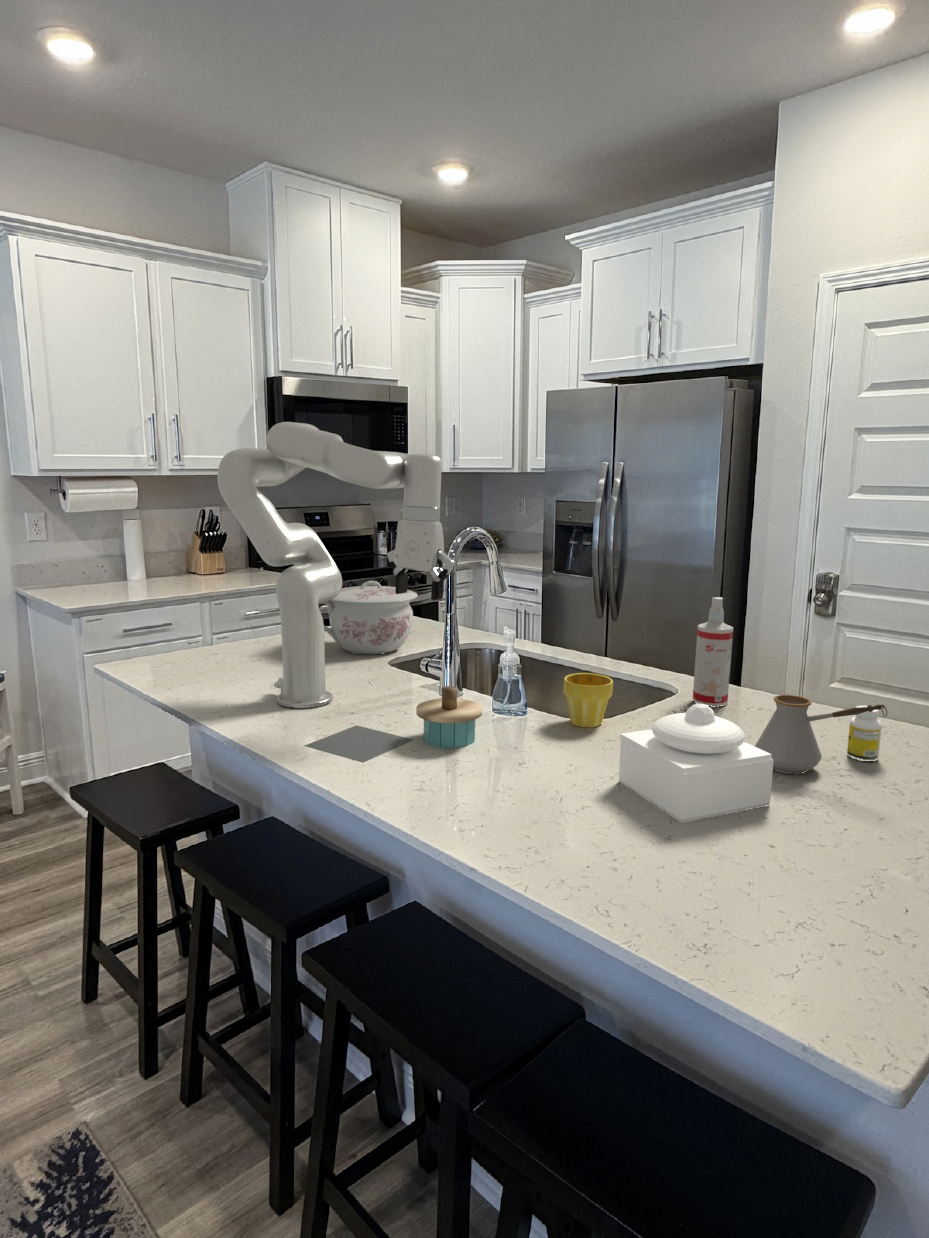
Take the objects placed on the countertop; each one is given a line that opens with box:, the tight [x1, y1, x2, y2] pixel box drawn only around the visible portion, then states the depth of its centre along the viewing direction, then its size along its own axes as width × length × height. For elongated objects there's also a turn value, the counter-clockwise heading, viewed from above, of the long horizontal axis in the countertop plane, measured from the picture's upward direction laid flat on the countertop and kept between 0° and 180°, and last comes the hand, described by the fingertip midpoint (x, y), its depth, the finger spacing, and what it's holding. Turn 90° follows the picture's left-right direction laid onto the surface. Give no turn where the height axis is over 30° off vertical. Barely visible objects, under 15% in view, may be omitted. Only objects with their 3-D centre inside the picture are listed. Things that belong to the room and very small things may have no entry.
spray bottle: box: [692, 596, 734, 706], centre depth 184 cm, size 8×8×25 cm
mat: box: [303, 724, 414, 763], centre depth 155 cm, size 15×15×1 cm
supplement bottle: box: [846, 705, 883, 760], centre depth 151 cm, size 5×5×10 cm
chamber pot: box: [318, 580, 419, 655], centre depth 234 cm, size 28×28×21 cm
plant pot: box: [563, 672, 614, 728], centre depth 169 cm, size 10×10×10 cm
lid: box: [415, 685, 483, 723], centre depth 156 cm, size 13×13×5 cm
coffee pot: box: [754, 694, 888, 774], centre depth 142 cm, size 21×12×15 cm, turn 49°
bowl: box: [423, 719, 476, 749], centre depth 157 cm, size 10×10×6 cm
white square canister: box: [618, 703, 774, 824], centre depth 133 cm, size 18×18×16 cm
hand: (418, 596), depth 168 cm, fingers open, 9 cm apart
